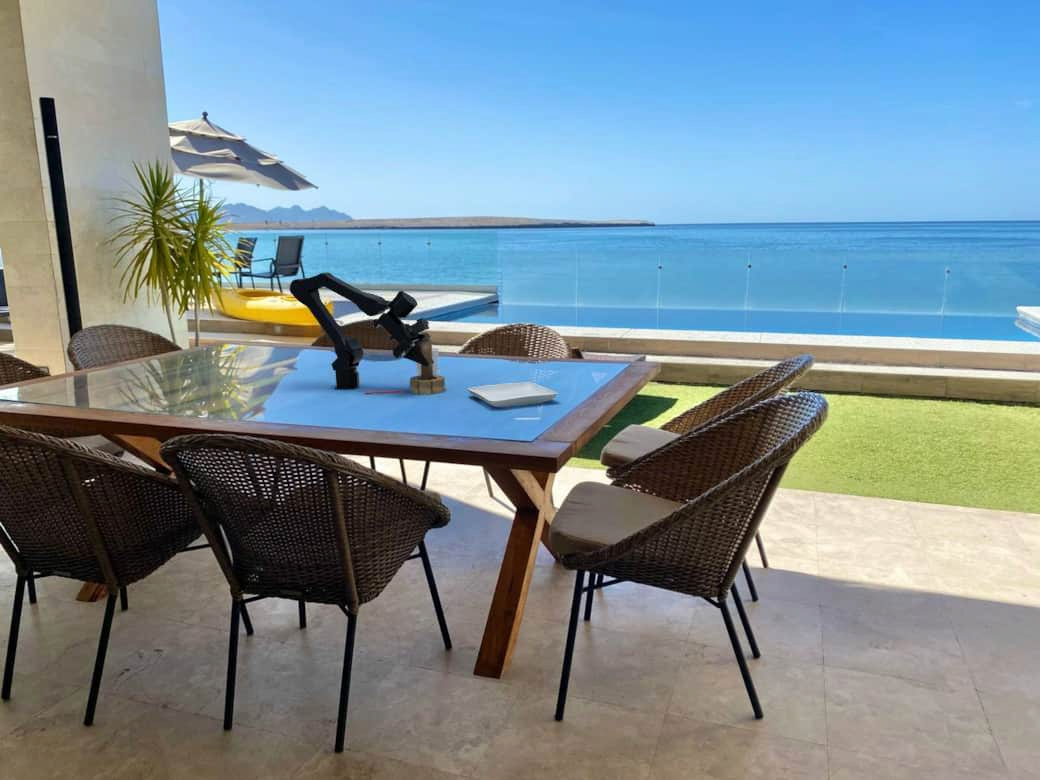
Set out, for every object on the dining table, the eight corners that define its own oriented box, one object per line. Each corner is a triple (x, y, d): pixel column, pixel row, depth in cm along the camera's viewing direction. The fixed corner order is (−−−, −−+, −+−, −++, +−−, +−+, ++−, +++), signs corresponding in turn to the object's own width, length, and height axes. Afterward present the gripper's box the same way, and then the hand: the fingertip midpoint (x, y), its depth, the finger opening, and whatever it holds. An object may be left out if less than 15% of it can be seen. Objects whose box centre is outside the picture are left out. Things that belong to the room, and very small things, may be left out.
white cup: (435, 381, 257) (434, 351, 255) (412, 380, 259) (411, 350, 257) (442, 376, 265) (441, 347, 263) (420, 375, 266) (419, 347, 264)
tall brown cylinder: (423, 386, 240) (421, 337, 236) (420, 384, 243) (418, 335, 240) (434, 385, 241) (432, 336, 238) (431, 383, 244) (429, 335, 241)
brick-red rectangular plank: (365, 394, 238) (364, 392, 238) (365, 393, 239) (365, 392, 239) (404, 392, 240) (404, 390, 240) (404, 391, 241) (404, 390, 241)
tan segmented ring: (408, 394, 237) (407, 381, 237) (414, 387, 248) (413, 375, 247) (442, 394, 237) (441, 381, 236) (446, 387, 247) (445, 374, 246)
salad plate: (465, 397, 233) (465, 386, 232) (530, 391, 241) (530, 380, 241) (491, 412, 214) (491, 400, 213) (560, 404, 222) (560, 393, 222)
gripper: (400, 313, 229) (436, 351, 229) (423, 307, 247) (457, 342, 246) (377, 339, 233) (413, 376, 232) (401, 331, 250) (434, 365, 250)
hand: (430, 364), depth 240 cm, fingers closed on tall brown cylinder, 4 cm apart
